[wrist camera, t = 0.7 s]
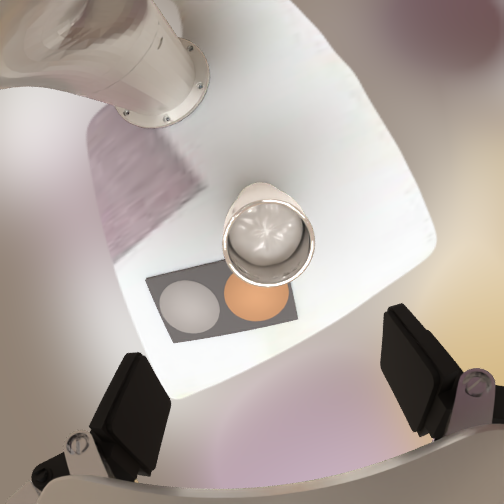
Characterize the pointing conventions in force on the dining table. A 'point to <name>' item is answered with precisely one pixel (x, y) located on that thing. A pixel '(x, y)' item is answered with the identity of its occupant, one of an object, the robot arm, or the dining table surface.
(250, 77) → the dining table surface
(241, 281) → the mat
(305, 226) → the beer glass
